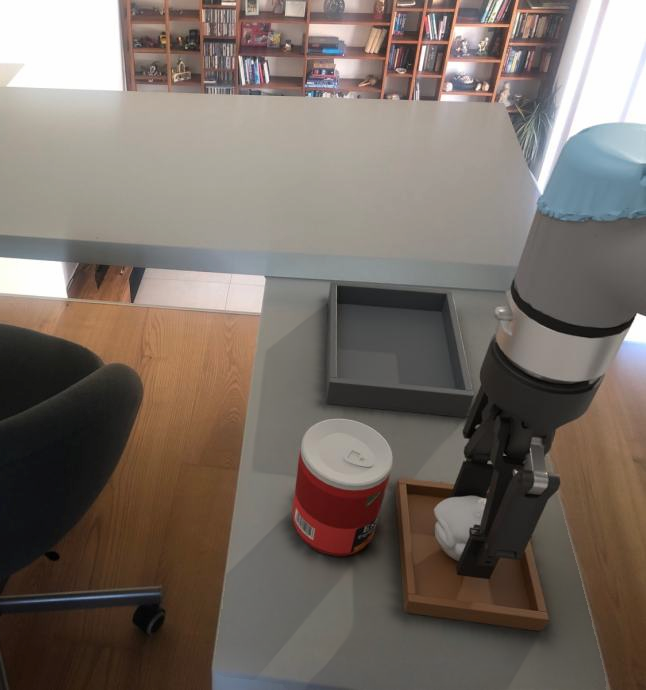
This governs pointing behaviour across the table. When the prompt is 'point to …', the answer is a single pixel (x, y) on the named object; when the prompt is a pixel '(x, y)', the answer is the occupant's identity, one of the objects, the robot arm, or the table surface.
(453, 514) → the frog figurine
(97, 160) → the table surface
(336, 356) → the tub
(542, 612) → the tray
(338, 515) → the canned food
